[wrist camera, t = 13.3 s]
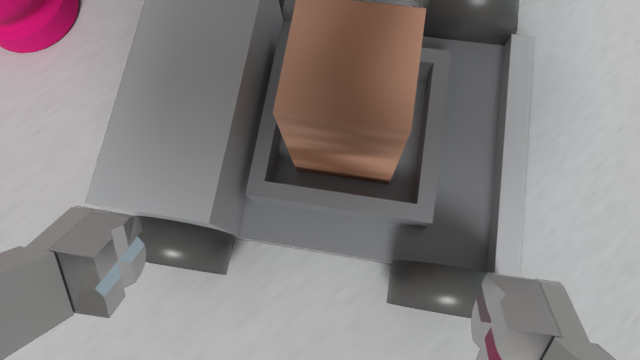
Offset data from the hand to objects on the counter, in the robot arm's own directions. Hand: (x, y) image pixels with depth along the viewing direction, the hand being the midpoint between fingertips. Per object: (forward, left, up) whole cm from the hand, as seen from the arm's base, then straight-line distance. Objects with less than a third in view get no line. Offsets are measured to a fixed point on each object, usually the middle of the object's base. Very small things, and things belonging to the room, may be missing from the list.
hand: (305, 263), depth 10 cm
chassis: (-1, +8, -14) cm, 16 cm away
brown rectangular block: (0, +8, -12) cm, 14 cm away
